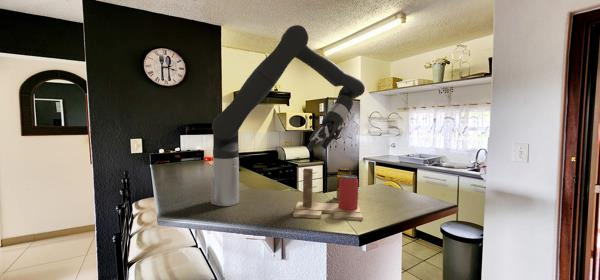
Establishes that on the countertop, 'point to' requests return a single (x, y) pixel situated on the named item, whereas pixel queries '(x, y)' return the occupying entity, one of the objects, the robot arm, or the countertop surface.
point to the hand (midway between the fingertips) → (315, 148)
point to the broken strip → (336, 215)
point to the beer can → (348, 193)
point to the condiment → (340, 172)
